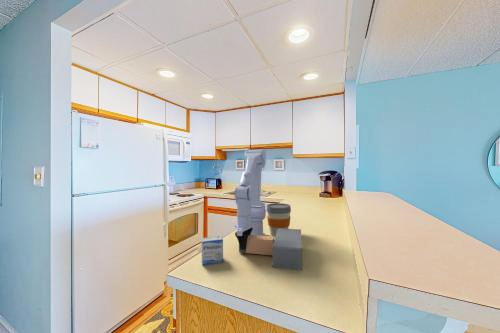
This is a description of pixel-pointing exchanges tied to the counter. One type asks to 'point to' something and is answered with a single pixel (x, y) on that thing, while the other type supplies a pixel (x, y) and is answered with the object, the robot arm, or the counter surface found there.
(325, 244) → the counter surface
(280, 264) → the block
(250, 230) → the robot arm
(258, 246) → the grey and tan block
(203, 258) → the medicine box
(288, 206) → the reusable coffee cup
